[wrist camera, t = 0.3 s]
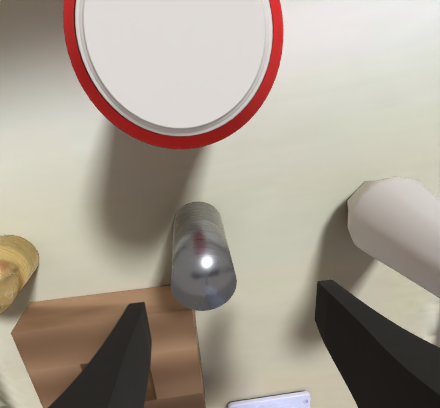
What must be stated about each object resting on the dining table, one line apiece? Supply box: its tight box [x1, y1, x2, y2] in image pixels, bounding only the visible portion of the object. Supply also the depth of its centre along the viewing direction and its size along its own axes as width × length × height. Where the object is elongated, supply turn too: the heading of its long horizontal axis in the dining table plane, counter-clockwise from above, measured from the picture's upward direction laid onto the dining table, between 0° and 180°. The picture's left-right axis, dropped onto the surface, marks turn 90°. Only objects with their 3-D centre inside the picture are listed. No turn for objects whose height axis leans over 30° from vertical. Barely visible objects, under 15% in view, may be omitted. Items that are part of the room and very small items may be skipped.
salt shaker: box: [347, 177, 440, 298], centre depth 18 cm, size 6×6×13 cm
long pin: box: [171, 202, 237, 311], centre depth 20 cm, size 3×3×7 cm
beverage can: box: [63, 0, 283, 149], centre depth 13 cm, size 6×6×12 cm
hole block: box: [11, 285, 206, 408], centre depth 25 cm, size 12×12×3 cm
